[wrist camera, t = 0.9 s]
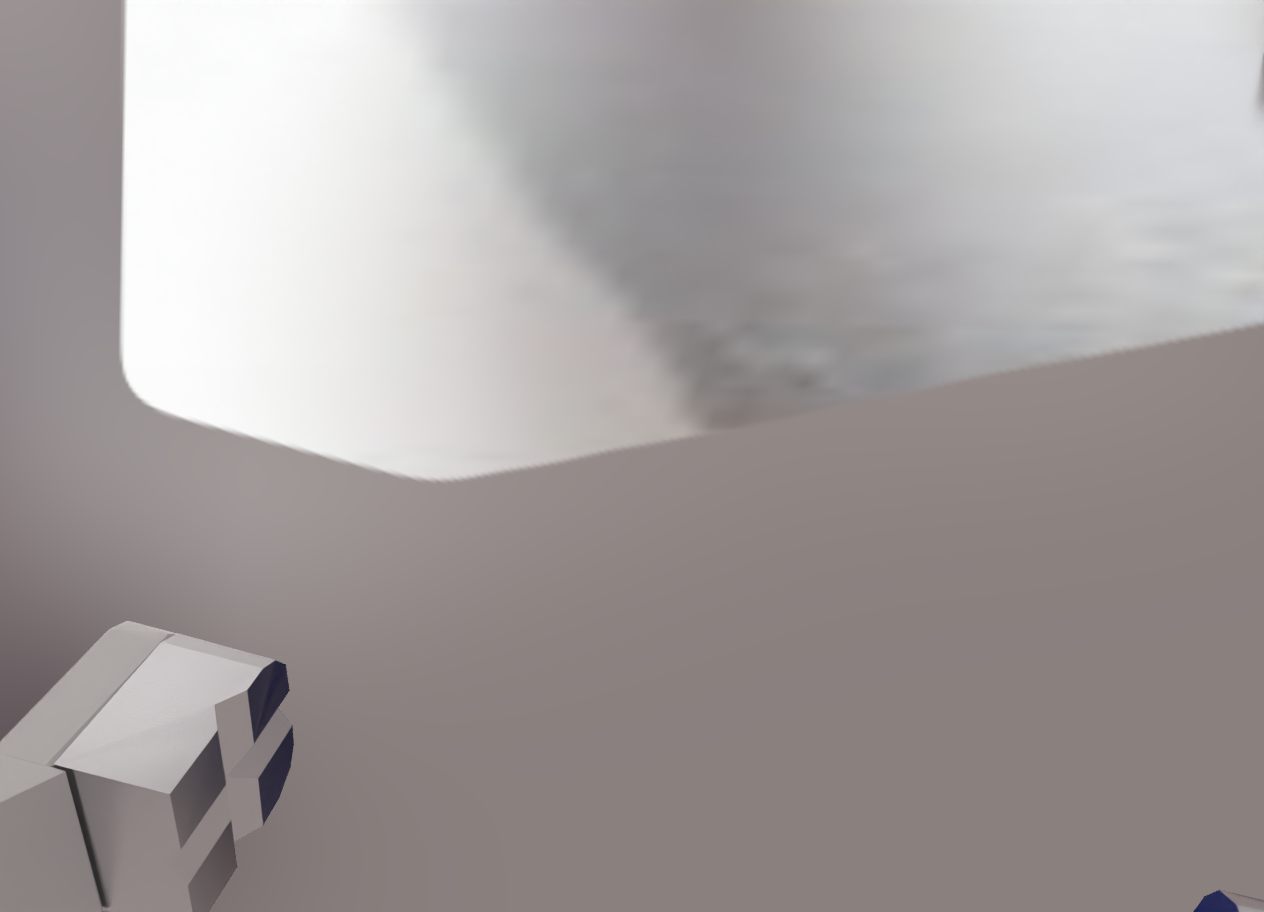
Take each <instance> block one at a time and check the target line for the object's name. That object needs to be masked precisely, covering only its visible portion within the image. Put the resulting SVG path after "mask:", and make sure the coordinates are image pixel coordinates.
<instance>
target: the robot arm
mask: <svg viewBox="0 0 1264 912" xmlns="http://www.w3.org/2000/svg"><path fill="white" fill-rule="evenodd" d="M289 691H290V690H289V683H288V676H287V669H286V664H283V663H281V662H278V661H276V660H273V659H269V658H266V657H262V656H258V655H254V654H251V653H247V652H244V651H240V650H236V649H233V648H229V647H225V646H221V645H218V644H214V643H211V642H207V641H203V640H200V639H196V638H192V637H189V636H185V635H182V634H176V633H172V632H168V631H164V630H161V629H157V628H153V627H150V626H146V625H142V624H138V623H134V622H130V621H126V622H124V623H122V624H119V625H117V626H115V627H113V628H111V629H109V630H108V631H107V632H106V633H105V634H104V635H103V636H102V637H101V638H100V639H99V640H98V641H97V642H96V643H95V644H94V645H93V646H92V647H91V648H90V649H89V650H88V651H87V652H86V653H85V654H84V656H82V657H81V658H80V660H79V661H78V662H77V663H76V664H75V665H74V666H73V667H72V668H71V669H70V670H69V671H68V672H67V673H66V674H65V675H64V676H63V677H62V678H61V679H60V680H59V681H58V682H57V683H56V684H55V685H54V686H53V687H52V688H51V690H49V691H48V693H47V694H46V695H45V696H44V697H43V698H42V699H41V700H40V701H39V702H38V703H37V704H36V705H35V706H34V707H33V708H32V709H31V710H30V711H29V712H28V713H27V714H26V715H25V716H24V717H23V718H22V720H20V722H19V723H17V725H16V726H15V727H14V728H13V729H12V730H11V731H10V732H9V733H8V734H7V735H6V736H5V737H4V738H3V739H2V740H1V741H0V912H103V910H106V911H110V912H210V910H211V908H212V907H213V905H214V904H215V902H216V900H217V899H218V897H219V896H220V894H221V892H222V891H223V889H224V888H225V886H226V884H227V883H228V881H229V880H230V878H231V876H232V875H233V873H234V872H235V870H236V868H237V861H236V853H235V845H234V842H235V841H236V840H238V839H240V838H242V837H243V836H245V835H247V834H249V833H251V832H252V831H254V830H256V829H257V828H259V827H261V826H263V825H264V823H265V821H266V820H267V818H268V816H269V815H270V813H271V811H272V809H273V808H274V806H275V805H276V803H277V801H278V799H279V797H280V795H281V792H282V789H283V787H284V784H285V781H286V778H287V776H288V773H289V770H290V767H291V761H292V754H293V746H294V739H293V725H292V724H291V723H290V721H289V720H288V719H287V718H286V716H285V715H284V714H283V713H282V711H281V710H280V709H279V708H278V707H279V706H280V704H281V703H282V701H283V700H284V698H285V697H286V695H287V694H288V692H289ZM1194 912H1264V900H1261V899H1256V898H1252V897H1247V896H1243V895H1239V894H1235V893H1230V892H1226V891H1222V890H1218V891H1216V892H1213V893H1211V894H1209V895H1206V896H1204V898H1203V899H1202V900H1201V902H1200V903H1199V905H1198V906H1197V908H1196V909H1195V910H1194Z"/></svg>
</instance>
